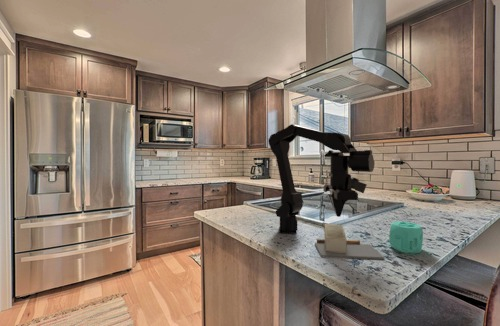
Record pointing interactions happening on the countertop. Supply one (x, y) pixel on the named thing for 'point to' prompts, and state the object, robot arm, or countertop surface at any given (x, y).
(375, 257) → the rubber mat
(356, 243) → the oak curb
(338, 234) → the skincare box
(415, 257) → the countertop surface
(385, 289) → the countertop surface
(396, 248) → the decorative dice
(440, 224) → the countertop surface
